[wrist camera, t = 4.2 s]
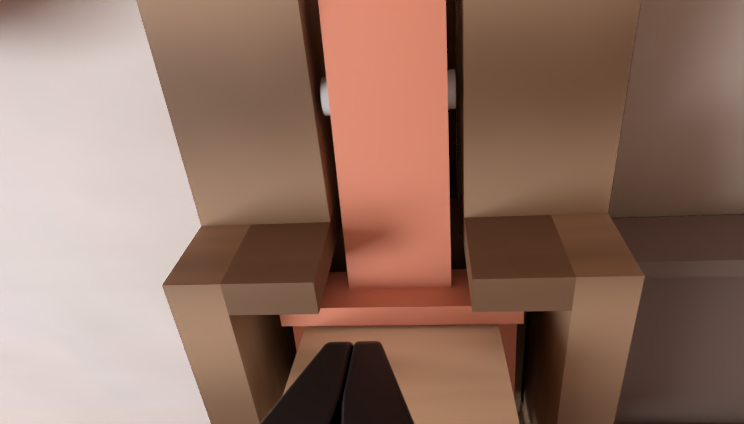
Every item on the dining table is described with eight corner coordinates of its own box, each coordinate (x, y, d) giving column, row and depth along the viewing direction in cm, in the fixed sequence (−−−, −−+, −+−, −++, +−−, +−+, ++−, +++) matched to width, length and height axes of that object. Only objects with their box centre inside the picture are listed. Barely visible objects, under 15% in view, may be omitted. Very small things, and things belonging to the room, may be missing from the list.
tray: (809, 417, 23) (851, 473, 21) (560, 415, 24) (575, 468, 22) (909, 208, 18) (980, 254, 15) (587, 218, 19) (609, 262, 17)
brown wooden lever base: (547, 402, 24) (585, 556, 18) (291, 400, 25) (254, 544, 19) (605, -107, 14) (726, -110, 8) (181, -67, 15) (45, -46, 10)
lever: (507, 435, 19) (516, 484, 17) (318, 433, 20) (308, 480, 18) (532, -301, 11) (553, -355, 9) (212, -257, 12) (173, -299, 10)
